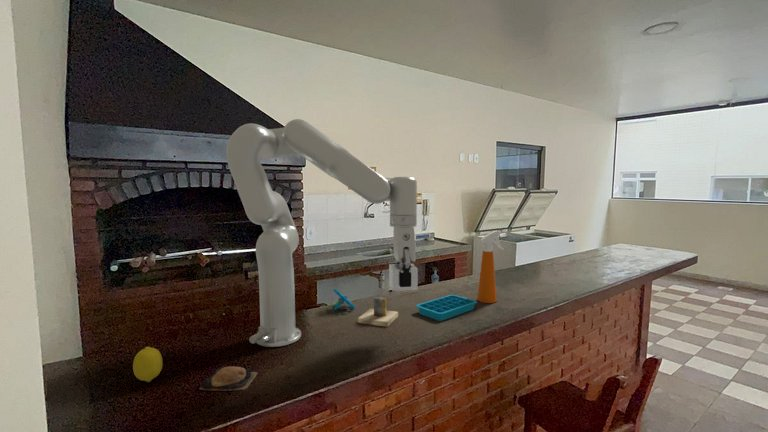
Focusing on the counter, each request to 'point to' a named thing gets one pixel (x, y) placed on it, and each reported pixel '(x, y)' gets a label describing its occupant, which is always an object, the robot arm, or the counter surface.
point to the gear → (342, 300)
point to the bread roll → (229, 379)
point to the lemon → (147, 364)
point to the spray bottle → (488, 269)
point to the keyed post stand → (378, 314)
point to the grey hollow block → (394, 278)
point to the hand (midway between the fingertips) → (402, 282)
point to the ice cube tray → (446, 307)
